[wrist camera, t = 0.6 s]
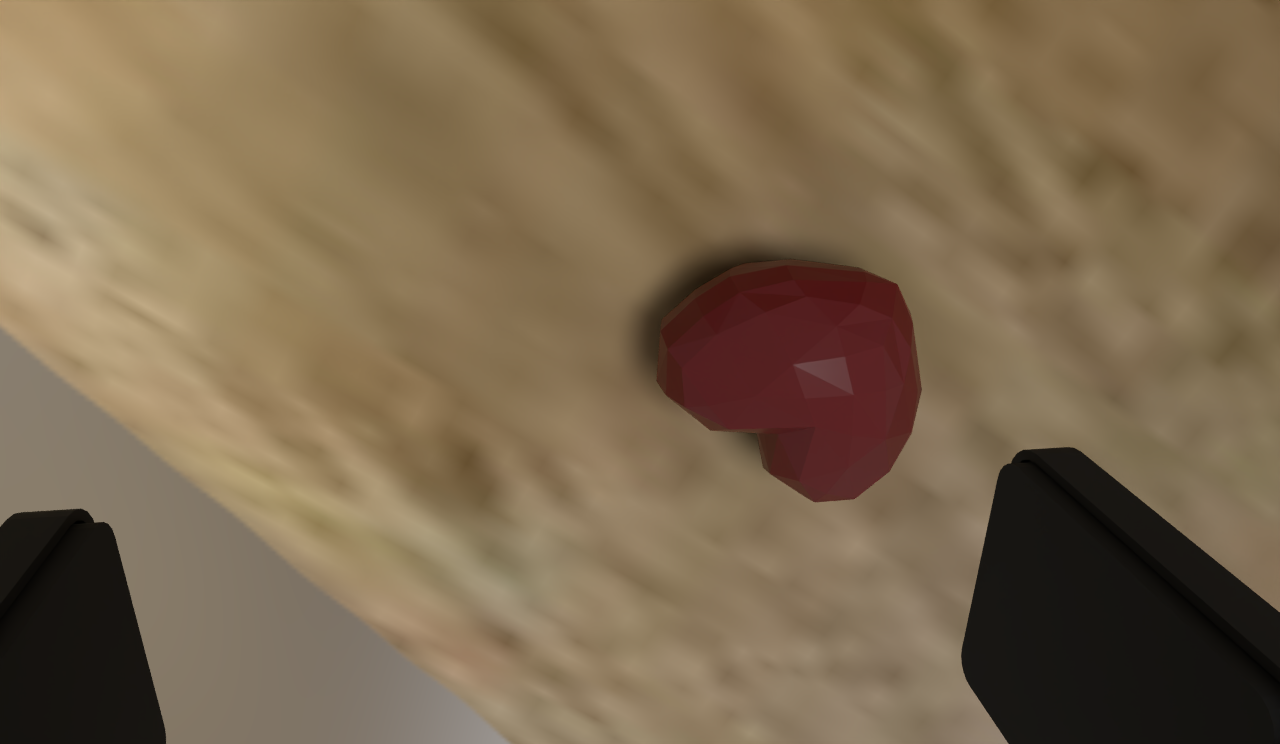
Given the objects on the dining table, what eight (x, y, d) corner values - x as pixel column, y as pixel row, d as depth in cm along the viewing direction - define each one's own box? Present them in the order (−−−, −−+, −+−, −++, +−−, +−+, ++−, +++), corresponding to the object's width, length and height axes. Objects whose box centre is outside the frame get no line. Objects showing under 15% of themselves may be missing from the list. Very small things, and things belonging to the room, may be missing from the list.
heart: (774, 161, 37) (619, 325, 40) (823, 231, 30) (632, 420, 34) (951, 321, 42) (799, 457, 45) (1026, 413, 35) (841, 563, 38)
